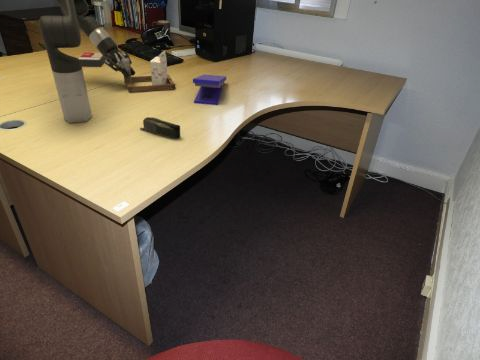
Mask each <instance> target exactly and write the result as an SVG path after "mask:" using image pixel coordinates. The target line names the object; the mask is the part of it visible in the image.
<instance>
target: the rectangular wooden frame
mask: <svg viewBox="0 0 480 360" xmlns="http://www.w3.org/2000/svg"><path fill="white" fill-rule="evenodd" d="M121 60H122V66H123V67H124V68H125V69H126V70H127V72H128V73H129V74H130V76H129V78H126V77H125V76H124V75H123V79H124V84H126V87H127V90H128V92H129V93H136V92H149V91H150V92H151V91H164V90H165V91H167V90H175V89H176V84H175V82H174V81H173V78H172V77H171V76H170V74H167V76H168V83H167V84H164V85H152V84H151V85H136V86H135V85H134V86H132V83H135V82H152V76H151V75H141V76H138V75H137V76H132V75H131V69H130V66H131V65H130V61H129V58H122V59H121Z"/></svg>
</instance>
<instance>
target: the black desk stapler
mask: <svg viewBox="0 0 480 360" xmlns="http://www.w3.org/2000/svg"><path fill="white" fill-rule="evenodd" d="M142 121H143V122H142V124H143V127H139V130H141V131H146V132H149V133H151V134H152V133H154V134H156V135H159V136H162V137H166V138H169V139H174V140H175V139H177V140H178V139H179V138H181V125H179V124H175V123H172V122H170V121H166V120H162V119H160V118H157V117H154V116H153V117H150V116H147V117H145V118H144V119H143V120H142Z"/></svg>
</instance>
